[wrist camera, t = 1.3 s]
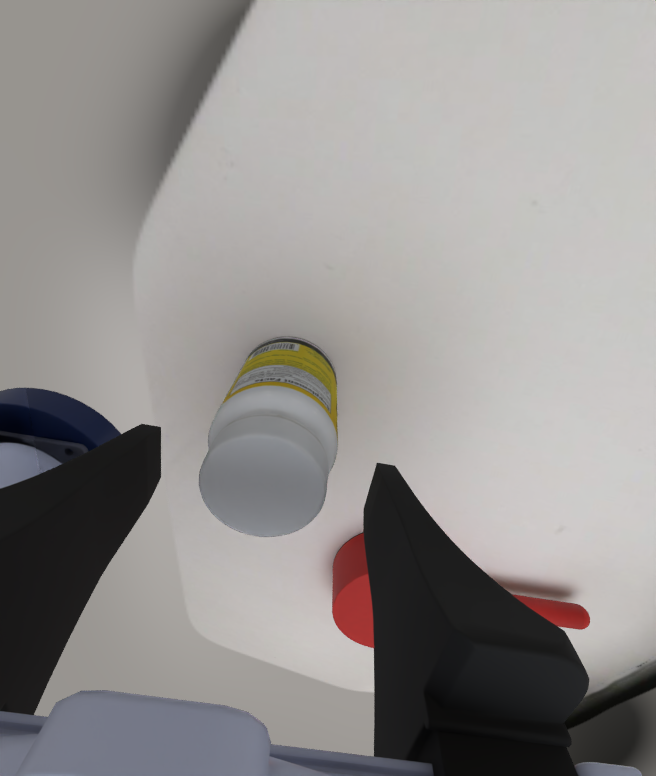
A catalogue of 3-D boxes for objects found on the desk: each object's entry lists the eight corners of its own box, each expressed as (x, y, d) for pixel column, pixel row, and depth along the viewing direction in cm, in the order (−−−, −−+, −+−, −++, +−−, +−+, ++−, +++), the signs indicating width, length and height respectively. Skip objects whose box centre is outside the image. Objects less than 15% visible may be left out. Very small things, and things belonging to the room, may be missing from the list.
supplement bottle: (302, 436, 21) (283, 568, 13) (225, 389, 20) (157, 504, 12) (356, 369, 19) (369, 477, 12) (276, 314, 18) (232, 394, 11)
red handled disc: (324, 596, 27) (322, 641, 24) (344, 519, 24) (345, 560, 21) (551, 629, 27) (575, 676, 25) (599, 559, 24) (631, 603, 22)
